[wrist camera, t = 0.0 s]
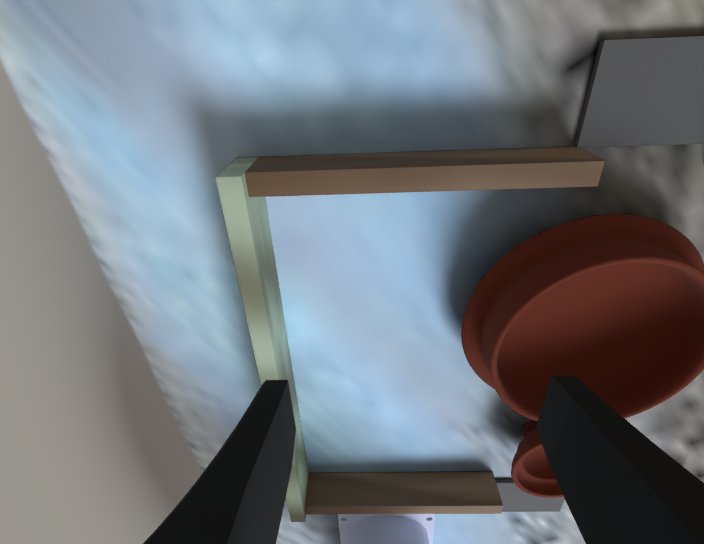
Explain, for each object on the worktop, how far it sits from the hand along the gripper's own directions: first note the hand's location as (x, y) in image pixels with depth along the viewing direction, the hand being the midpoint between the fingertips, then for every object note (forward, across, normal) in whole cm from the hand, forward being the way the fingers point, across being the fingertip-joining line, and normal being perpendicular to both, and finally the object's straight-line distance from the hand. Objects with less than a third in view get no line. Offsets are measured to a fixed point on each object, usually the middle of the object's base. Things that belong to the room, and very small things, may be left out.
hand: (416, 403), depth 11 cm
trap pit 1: (+10, -11, -6) cm, 16 cm away
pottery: (+10, -10, +8) cm, 17 cm away
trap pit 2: (+10, -11, +22) cm, 27 cm away
